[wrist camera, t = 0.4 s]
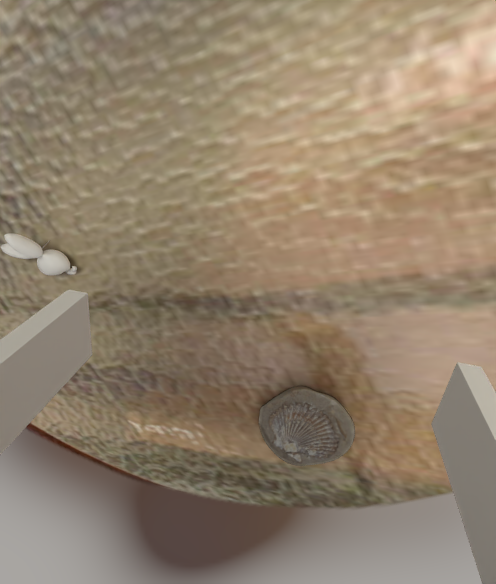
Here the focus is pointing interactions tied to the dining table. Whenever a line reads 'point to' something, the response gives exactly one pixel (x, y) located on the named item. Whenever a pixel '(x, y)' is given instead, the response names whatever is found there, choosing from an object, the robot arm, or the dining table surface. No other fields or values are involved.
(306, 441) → the fossil
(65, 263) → the rabbit figurine
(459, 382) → the robot arm
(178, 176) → the dining table surface
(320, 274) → the dining table surface
